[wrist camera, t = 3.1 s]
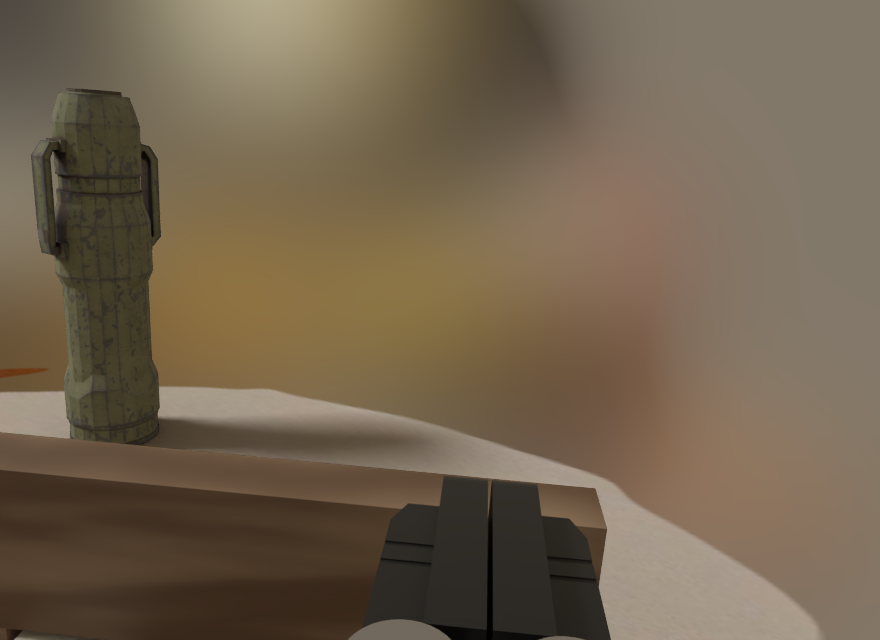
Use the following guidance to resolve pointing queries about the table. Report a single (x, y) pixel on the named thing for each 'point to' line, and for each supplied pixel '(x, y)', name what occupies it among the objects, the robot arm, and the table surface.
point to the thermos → (102, 261)
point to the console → (205, 540)
